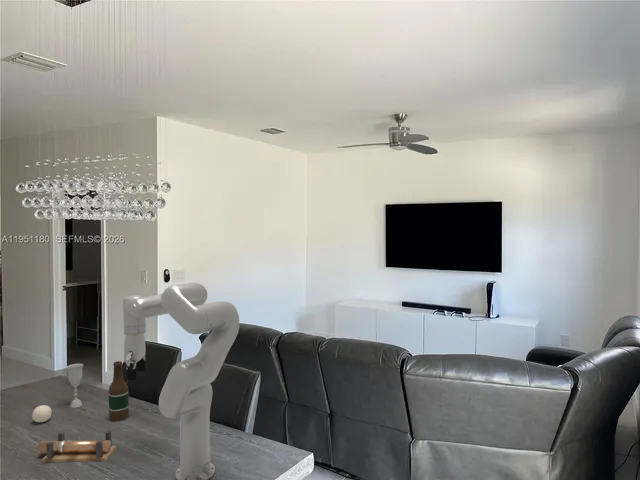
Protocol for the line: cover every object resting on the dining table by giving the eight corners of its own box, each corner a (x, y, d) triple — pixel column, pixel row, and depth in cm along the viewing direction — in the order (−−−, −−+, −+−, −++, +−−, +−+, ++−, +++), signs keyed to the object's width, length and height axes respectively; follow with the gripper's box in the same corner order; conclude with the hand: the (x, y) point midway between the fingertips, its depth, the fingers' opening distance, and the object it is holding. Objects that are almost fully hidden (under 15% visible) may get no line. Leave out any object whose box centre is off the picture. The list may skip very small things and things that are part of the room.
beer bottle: (104, 419, 194) (103, 363, 193) (120, 412, 201) (119, 358, 200) (117, 423, 191) (116, 366, 190) (132, 416, 198) (131, 360, 196)
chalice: (68, 403, 211) (67, 364, 210) (84, 401, 214) (83, 362, 213) (66, 409, 205) (65, 369, 204) (84, 406, 207) (83, 367, 207)
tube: (111, 449, 167) (110, 437, 167) (106, 454, 163) (106, 443, 163) (43, 450, 166) (43, 438, 166) (37, 455, 162) (36, 444, 162)
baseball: (56, 417, 196) (55, 402, 196) (44, 425, 189) (43, 409, 188) (41, 417, 197) (40, 401, 196) (28, 424, 189) (28, 408, 189)
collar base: (116, 448, 170) (116, 430, 169) (106, 460, 161) (105, 442, 160) (55, 449, 169) (55, 432, 169) (41, 462, 160) (41, 443, 160)
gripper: (132, 324, 177) (134, 368, 178) (115, 335, 160) (117, 384, 160) (152, 324, 178) (154, 368, 178) (137, 334, 160) (139, 383, 161)
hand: (136, 375), depth 169 cm, fingers open, 9 cm apart
